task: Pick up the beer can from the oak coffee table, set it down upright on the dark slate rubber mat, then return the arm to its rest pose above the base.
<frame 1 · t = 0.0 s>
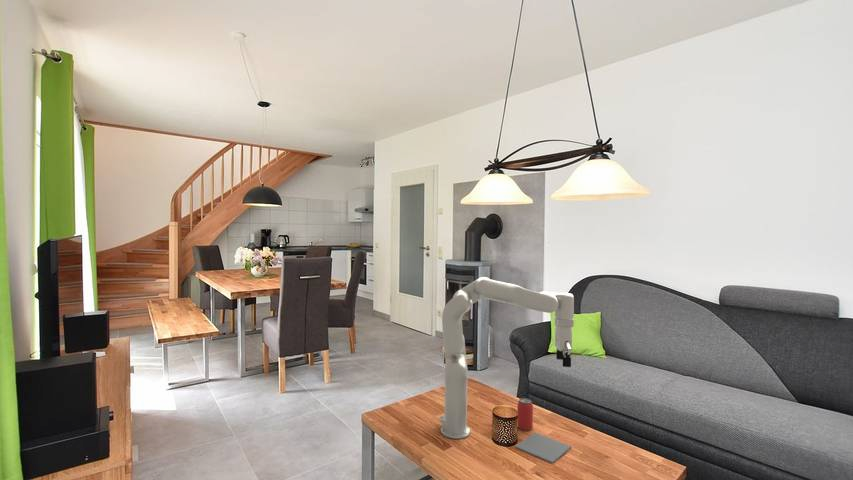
hand: (563, 362, 169), 31 cm above the table, tool pointing down, fingers open, 9 cm apart
slate mat: (543, 447, 160), on the table
beer can: (524, 427, 177), on the table
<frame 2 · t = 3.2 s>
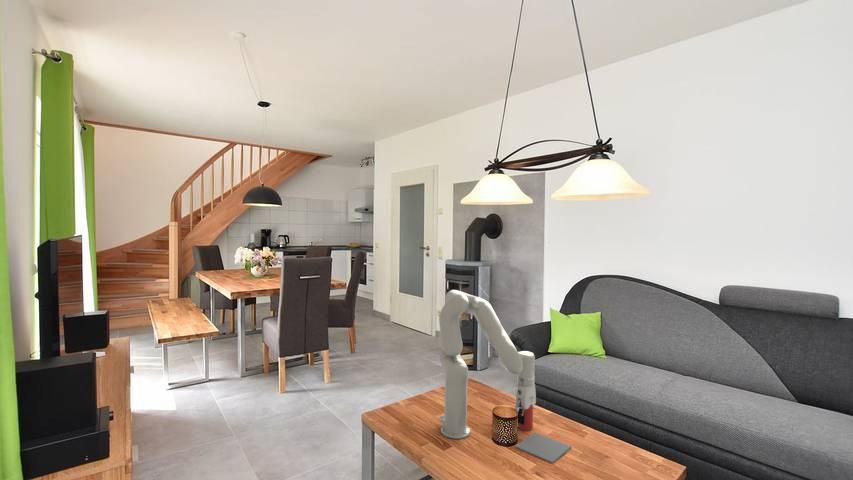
hand: (525, 420, 177), 3 cm above the table, tool pointing down, fingers closed on beer can, 6 cm apart
beer can: (524, 427, 177), on the table, touching gripper
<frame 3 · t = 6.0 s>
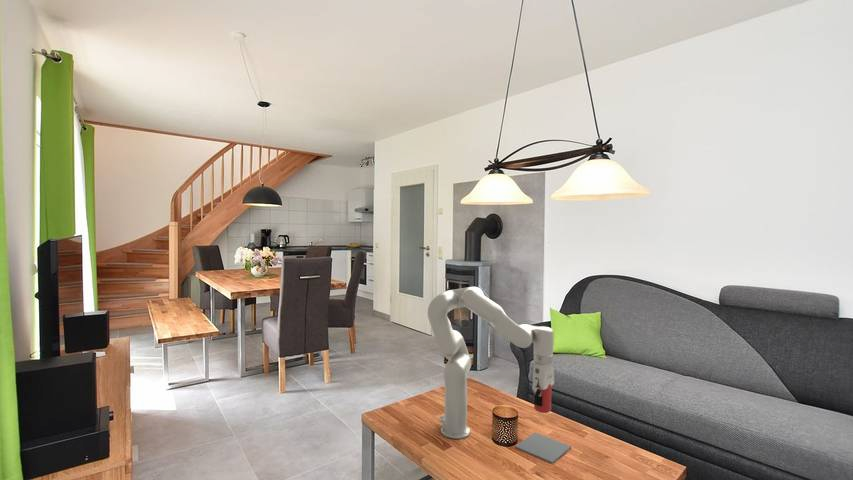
hand: (542, 402, 161), 18 cm above the table, tool pointing down, fingers closed on beer can, 6 cm apart
beer can: (542, 410, 161), point 14 cm above the table, touching gripper
when the fingers open (5 cm above the table, at t = 9.1 s): beer can drops 1 cm, resting on slate mat.
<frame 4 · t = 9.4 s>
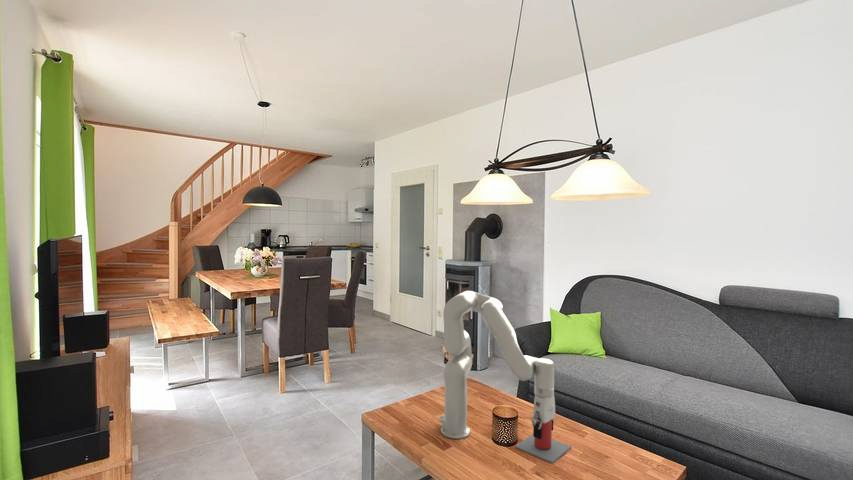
hand: (543, 433, 160), 6 cm above the table, tool pointing down, fingers open, 9 cm apart
beer can: (542, 446, 160), resting on slate mat
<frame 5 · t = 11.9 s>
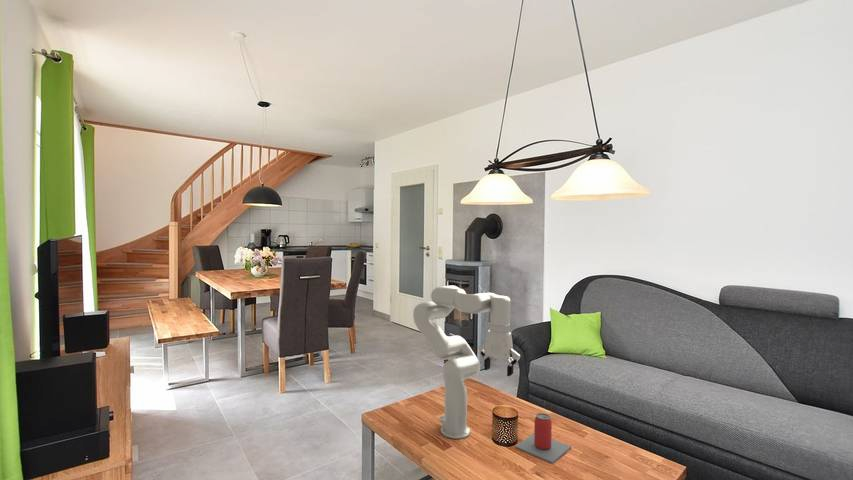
hand: (498, 372, 155), 32 cm above the table, tool pointing down, fingers open, 9 cm apart
nothing on the table moved.
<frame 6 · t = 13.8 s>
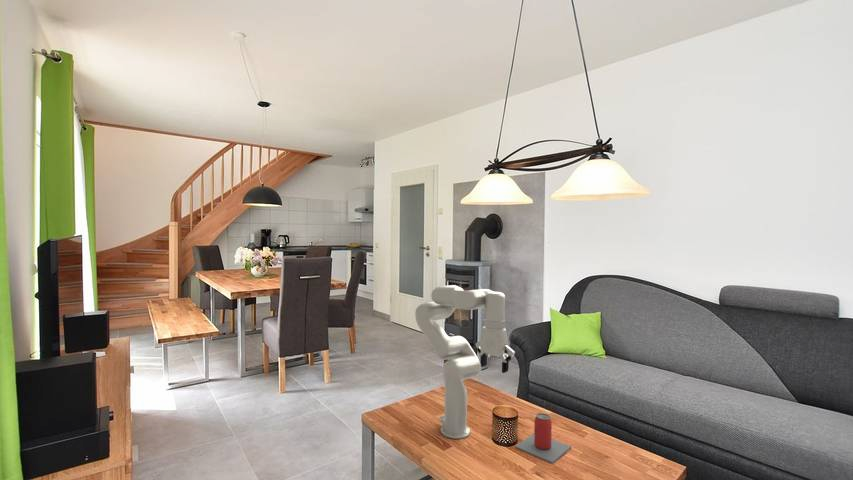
hand: (494, 369, 154), 33 cm above the table, tool pointing down, fingers open, 9 cm apart
nothing on the table moved.
at the end: beer can inside the target area on the slate mat (0.2 cm from its centre), point 0.4 cm above the slate mat's base; beer can tilted 0°; the gripper is holding nothing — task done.
